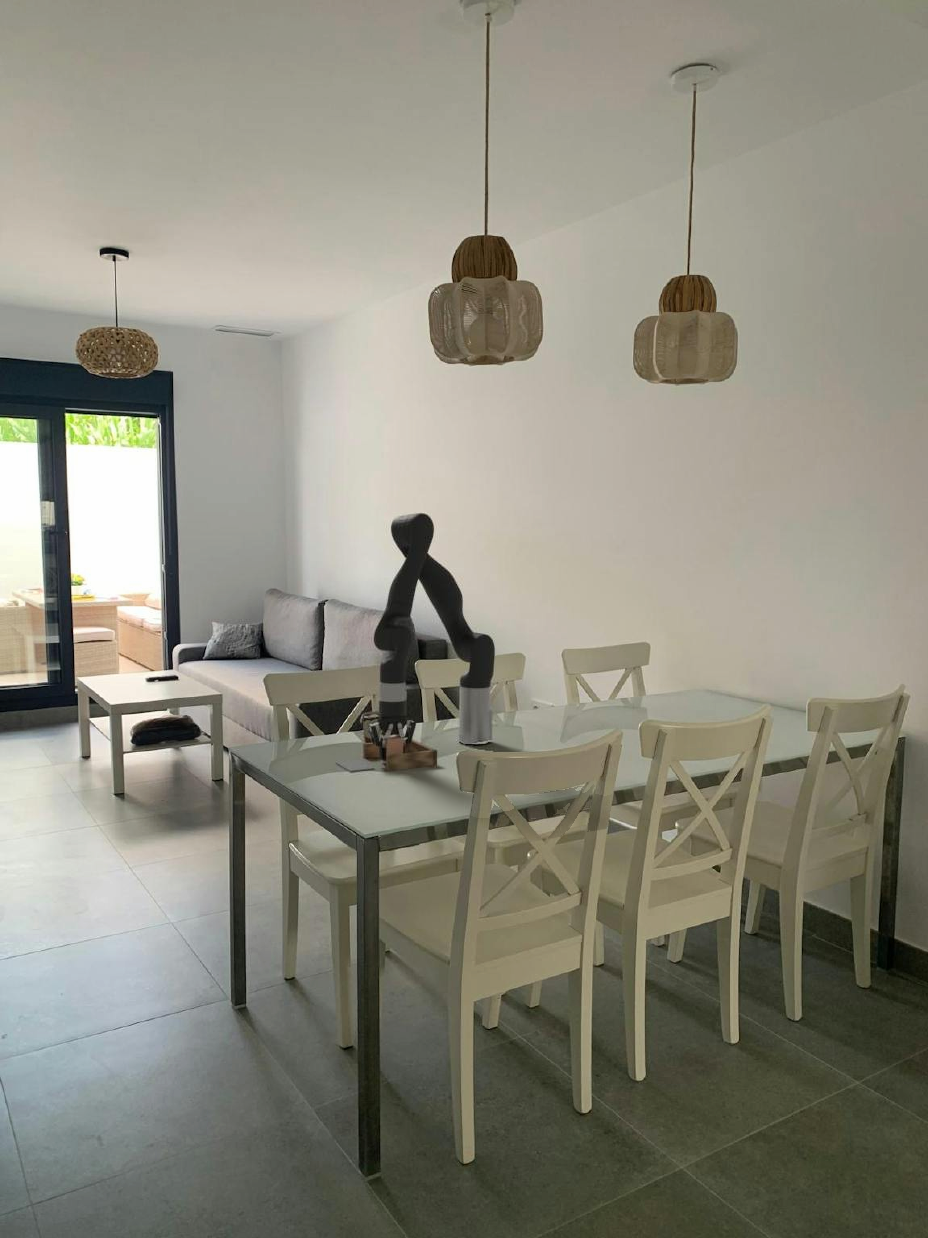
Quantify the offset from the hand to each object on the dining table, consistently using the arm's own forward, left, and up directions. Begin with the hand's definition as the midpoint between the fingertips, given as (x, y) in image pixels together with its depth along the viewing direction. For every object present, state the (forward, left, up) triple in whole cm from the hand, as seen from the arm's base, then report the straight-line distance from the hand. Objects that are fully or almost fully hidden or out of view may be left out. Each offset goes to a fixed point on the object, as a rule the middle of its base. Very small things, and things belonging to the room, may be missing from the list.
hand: (392, 759), depth 265 cm
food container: (-5, -19, -1) cm, 20 cm away
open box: (-2, 0, -1) cm, 2 cm away
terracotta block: (0, 0, -1) cm, 1 cm away
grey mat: (+11, 0, -1) cm, 11 cm away
